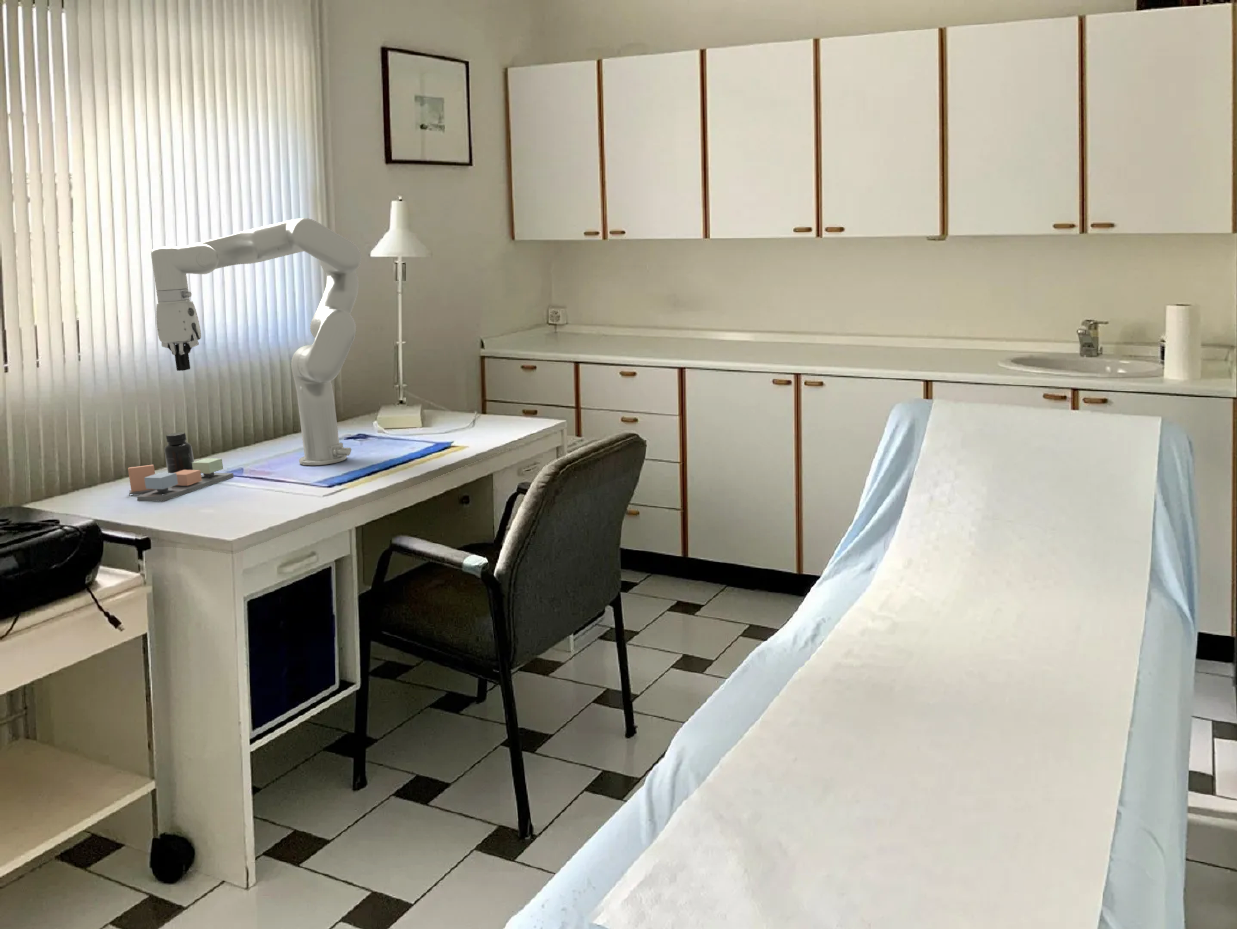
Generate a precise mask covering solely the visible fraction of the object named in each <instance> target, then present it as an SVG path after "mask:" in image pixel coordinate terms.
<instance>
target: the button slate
mask: <svg viewBox="0 0 1237 929" xmlns="http://www.w3.org/2000/svg"><path fill="white" fill-rule="evenodd" d="M177 484H178V481H177V474H176V473H168V472H157V473H155V474H154V475H151V476H148V477H145V485H146V489H157V492H162V491H167V490H168V487H171V486H174V485H177Z"/></svg>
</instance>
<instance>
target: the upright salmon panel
mask: <svg viewBox="0 0 1237 929" xmlns="http://www.w3.org/2000/svg"><path fill="white" fill-rule="evenodd" d="M127 471H128V472H127V473H128V477H129V485H130V490H129V492H128V493H129V494H139V495H143V494H146V493H149V492H152V491H155V490H157V489H146V485H145V477H148V476H151V475H154V474H156V472H155V471H156V470H155V466H154V464H149V465H148V464H147V465H141V466H139V465H138V466H131V467H127Z"/></svg>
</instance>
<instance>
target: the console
mask: <svg viewBox="0 0 1237 929" xmlns="http://www.w3.org/2000/svg"><path fill="white" fill-rule="evenodd" d="M234 476H235V475H234V472H214V475H211V476H204V475H203V474H201V479H202V481H200V482H197V483H194V484H192V485H190V486H180V485H174V486H171V487H168V490H167V491H162V492H157V490H155V491H152V492H149V493H146V494H139V495H136V500H137V501H139V500H144V501H146V502H147V501H148V502H165V501H168V500H170V499H175V498H177V497H180V496H183V495H186V494H189V493H191V492H195V491H197V490H200V489H202V488H203V489H204V488H206V487H208V486H209V487H210V486H212V485H215V484H217V483H220V482H223V481H226V480H228V479H232V478H234Z"/></svg>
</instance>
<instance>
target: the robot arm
mask: <svg viewBox="0 0 1237 929" xmlns="http://www.w3.org/2000/svg"><path fill="white" fill-rule="evenodd" d="M150 252H151V254H150V255H151V256H150V257H151V265H152V269H153V277H154V284H155V291H156V298H157V303H156V310H155V311H156V314H155V315H156V317H155V318H156V329H157V330H156V331H157V336H158V340H159V341H160V342H161V343H160V344H161V347H162V348H166V349H169V351H171V354H172V355H173V356H174V361H175V368H176V371H182V372H184V371H187V370H191V363H190V357H189V356H190V353H191V351H192V349H193V348H194V347H198V346H199V345H200V344H199V340H201V339H202V332H201V326H200V321H199V317H198V312H197V309H196V307H195V304H194V302H193V301H192V300H191V299H190V298H191V297H192V295H193V294H192V291H190V290H189V286H188V285H189V283H188V278H187V277H188V276H187V275H188V274H190V275H191V274H193V275H208V274H210V273H212V272H213V271H215V270H218V269H221V268H226V267H231V266H237V265H248V264H249V265H251V264H256V263H262V262H265V261H270V260H273V259H278V258H281V257H286V256H289V255H294V254H298V253H303V252H305V253H307V254H308V255H310V256H312V257H314V258H315V259H317V260H318V262H319V265H320V266H321V268H322V269H323V271H324V273H325V277H326V282H325V283H326V285H325V288H324V291H323V294H322V297H321V300H320V301H319V304H318V306H317V309H316V310H315V312H314V315H313V316H312V319H311V321H310V326H309V327H310V328H309V329H310V333H311V336H312V337H313V338H314V341H313V343H312V344H306V345H303V346H301V347H299V348H298V349H297V350H295V351H294V353H293V355H292V357H291V364H290V365H291V366H290V367H291V371H292V372H291V373H292V377H293V378H292V379H293V380H294V386H295V390H296V397H297V404H298V413H299V421H300V422H299V423H300V429H301V430H300V431H301V439H302V447H303V448H302V449H303V453H304V454H303V456H302V457H300V458H299V459H298V462H299V463H298V464H300V465H302V466H323V465H329V464H330V465H331V464H336V463H340V462H344V461H346V460H347V459H348V458H347V456H350V455H351V453H352V448H351V447H344V443H343V442H340V438H339V429H338V422H337V420H338V419H337V413H336V412H337V411H336V405H335V404H336V401H335V394H334V388H333V384H332V381H333V380H335V379H336V378H337V376H338V375H339V374H340V372H341V370H342V368H343V365H345V361H346V359H347V357H348V355H349V352H350V350H351V347H352V345H353V343H354V340H355V337H356V333H357V324H356V321H355V319H354V317H353V315H351V313H352V311H353V309H354V307H355V304H356V301H357V298H358V294H359V288H360V287H359V286H360V285H359V277H358V274H357V271H356V270H358V268H360V266H361V264H362V263H361V262H362V259H363V258H362V253H361V250H360V248H359V247H358V245H356V244H355V243H354V242H353V241H352V240H350V239H349V238H346V237H344V236H343V235H341V234H339V233H337V232H335V231H334V230H332V229H330V228H329V227H326V226H325V225H323V224H322V223H320V222H318V221H316V220H314V219H312V218H309V217H307V218H306V217H302V218H295V219H289V220H285V221H281V222H277V223H273V224H268V225H263V226H260V227H254V228H251V229H247V230H243V231H239V232H235V233H234V234H230V235H227V236H226V235H225V236H222V237H217V238H213V239H208V240H205V241H201V242H195V243H191V244H188V245H186V246H180V247H179V246H161V247H155V248H153V249H152V250H151V251H150Z"/></svg>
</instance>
